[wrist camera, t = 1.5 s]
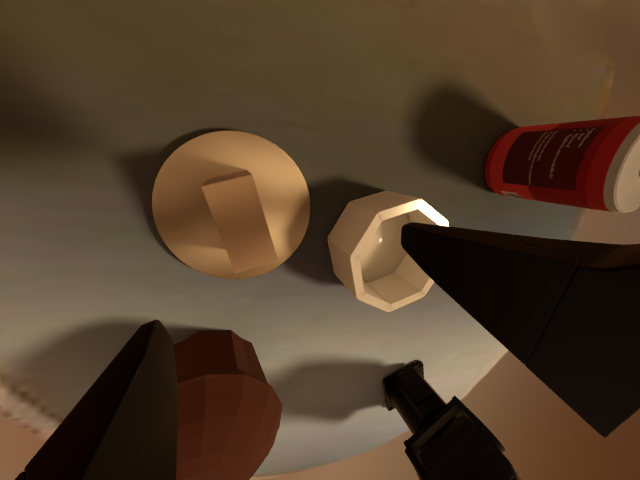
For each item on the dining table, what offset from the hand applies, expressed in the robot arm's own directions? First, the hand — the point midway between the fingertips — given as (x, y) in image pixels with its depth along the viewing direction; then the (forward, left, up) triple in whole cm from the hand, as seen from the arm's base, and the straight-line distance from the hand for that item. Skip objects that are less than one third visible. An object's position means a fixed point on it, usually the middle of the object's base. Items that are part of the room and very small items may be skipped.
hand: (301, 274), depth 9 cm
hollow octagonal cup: (-7, -10, -14) cm, 19 cm away
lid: (0, +2, -14) cm, 14 cm away
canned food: (-3, -29, -14) cm, 33 cm away
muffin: (-14, +9, -14) cm, 22 cm away
